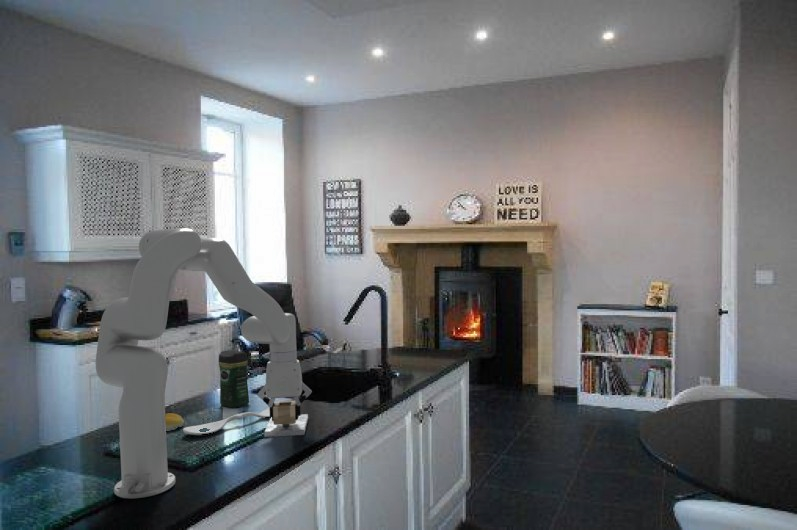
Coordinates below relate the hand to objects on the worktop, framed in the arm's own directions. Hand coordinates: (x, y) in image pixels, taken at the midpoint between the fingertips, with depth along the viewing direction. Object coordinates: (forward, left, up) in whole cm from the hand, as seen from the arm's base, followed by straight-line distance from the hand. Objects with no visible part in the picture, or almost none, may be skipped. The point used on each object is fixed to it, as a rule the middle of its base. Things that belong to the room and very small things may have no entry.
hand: (285, 418), depth 168 cm
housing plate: (+4, 0, -4) cm, 5 cm away
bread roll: (+10, +36, -4) cm, 37 cm away
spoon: (+9, +15, -4) cm, 18 cm away
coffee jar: (+32, +20, -4) cm, 38 cm away
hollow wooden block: (0, 0, -1) cm, 1 cm away
